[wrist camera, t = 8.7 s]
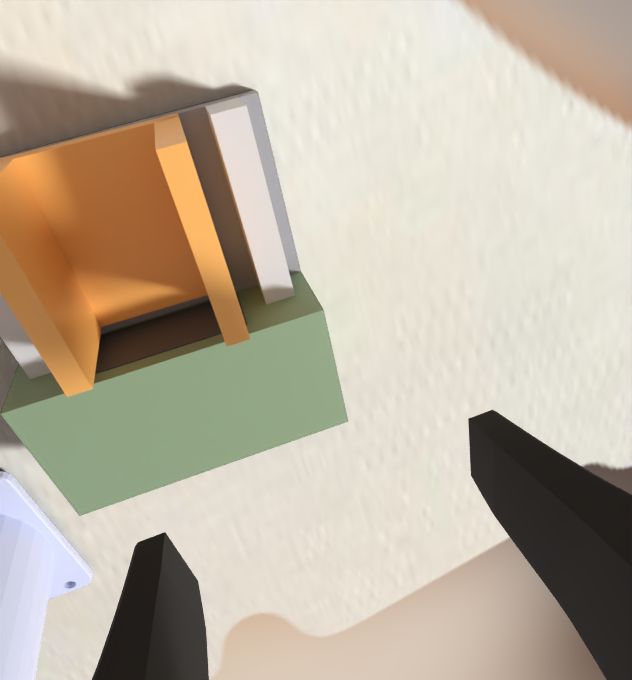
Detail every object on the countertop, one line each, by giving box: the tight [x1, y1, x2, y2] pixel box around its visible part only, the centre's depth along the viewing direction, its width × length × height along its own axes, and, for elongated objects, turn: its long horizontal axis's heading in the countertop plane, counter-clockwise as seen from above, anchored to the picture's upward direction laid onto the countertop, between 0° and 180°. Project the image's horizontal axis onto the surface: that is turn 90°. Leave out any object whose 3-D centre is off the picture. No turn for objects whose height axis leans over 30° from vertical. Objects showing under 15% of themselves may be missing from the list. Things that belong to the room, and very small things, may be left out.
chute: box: [0, 113, 250, 397], centre depth 14 cm, size 5×6×4 cm
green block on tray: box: [0, 90, 348, 516], centre depth 16 cm, size 10×11×4 cm
